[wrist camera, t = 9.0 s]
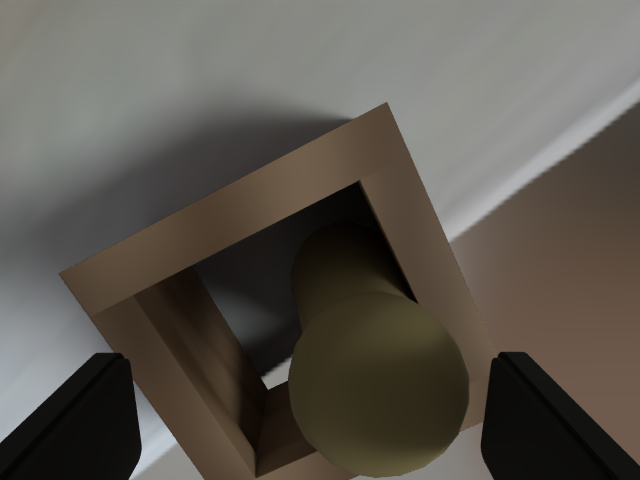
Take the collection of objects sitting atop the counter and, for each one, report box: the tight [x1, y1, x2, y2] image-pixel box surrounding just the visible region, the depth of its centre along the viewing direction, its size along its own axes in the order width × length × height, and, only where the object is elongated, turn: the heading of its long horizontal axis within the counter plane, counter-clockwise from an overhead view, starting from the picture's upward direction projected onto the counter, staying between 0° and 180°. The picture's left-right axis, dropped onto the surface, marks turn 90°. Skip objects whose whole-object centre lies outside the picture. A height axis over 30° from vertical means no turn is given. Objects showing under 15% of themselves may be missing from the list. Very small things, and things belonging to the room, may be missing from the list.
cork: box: [288, 222, 469, 478], centre depth 15 cm, size 6×6×11 cm
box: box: [59, 102, 498, 480], centre depth 17 cm, size 12×12×7 cm
